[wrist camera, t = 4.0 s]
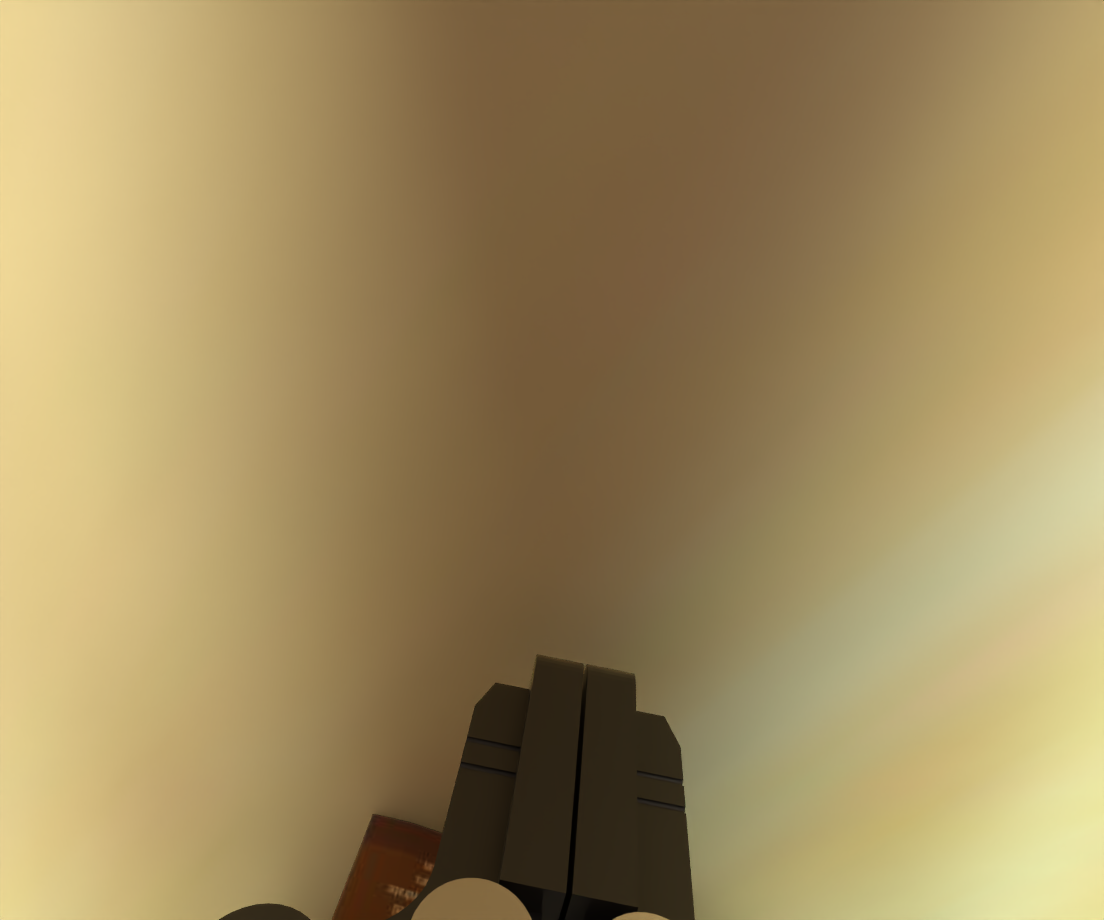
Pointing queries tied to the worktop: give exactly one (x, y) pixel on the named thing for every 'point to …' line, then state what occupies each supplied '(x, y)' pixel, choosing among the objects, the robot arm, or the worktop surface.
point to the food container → (388, 869)
